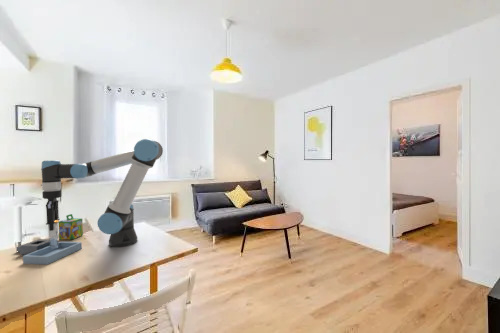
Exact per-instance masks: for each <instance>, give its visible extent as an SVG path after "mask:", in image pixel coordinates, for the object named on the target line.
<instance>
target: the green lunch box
mask: <svg viewBox="0 0 500 333" xmlns="http://www.w3.org/2000/svg"><path fill="white" fill-rule="evenodd" d="M65 217H66V218H65V219H63V220H59V222H58V241H63V240H64V241H65V240H69V241H70V240H74V239H77V237H78V238H80V237H82V235H83V236H84V232H83V230H84V228H83V226H84V225H83V218H77V217H75V218H74V216H73V214H72V213H70V214H67V215H66V216H65ZM69 217H70V218H69ZM79 236H80V237H79Z"/></svg>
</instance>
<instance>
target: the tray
mask: <svg viewBox="0 0 500 333" xmlns="http://www.w3.org/2000/svg"><path fill="white" fill-rule="evenodd" d="M82 244H83V243H82V242H81V241H79V242H78V241H58V247H57V248H54V249H50V246H48V247H45V248H43V249H40V250H37V251H35V252H32V253H30V254H27V255H22V263H23V265H26V264H27V265H49V264H51V263H53V262H55V261H58V260H60V259H62V258H64V257H66V256H69V255H70V254H73V253H75V252H77V251H79V250H82V248H83V247H82Z"/></svg>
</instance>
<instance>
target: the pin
mask: <svg viewBox="0 0 500 333" xmlns="http://www.w3.org/2000/svg"><path fill="white" fill-rule="evenodd" d="M59 221H60V220H55V226H56V236H53V237H49V236H48V238H49V243H50V249H54V248H57V247H58V242H59V226H58V227H57V223H58V222H59ZM58 224H59V223H58Z"/></svg>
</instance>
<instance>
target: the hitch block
mask: <svg viewBox="0 0 500 333" xmlns="http://www.w3.org/2000/svg"><path fill="white" fill-rule="evenodd" d="M48 246H50V243H49V239H43V238H39V239H35V240H33V241H30V242H27V243H24V244H20V245H18V246H16V248H15V249H16V252H17V251H18V252H17V253H19V252H20V254H19V255H20V256H24V255H27V254H30V253H32V252H35V251H37V250H40V249H43V248H45V247H48Z"/></svg>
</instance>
